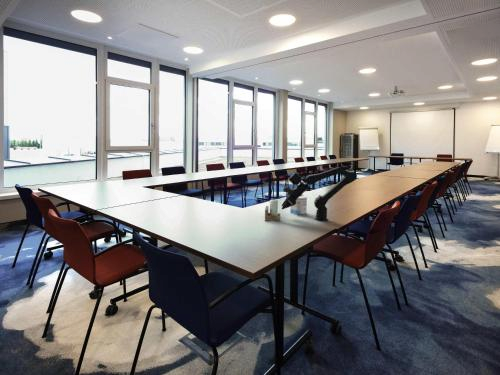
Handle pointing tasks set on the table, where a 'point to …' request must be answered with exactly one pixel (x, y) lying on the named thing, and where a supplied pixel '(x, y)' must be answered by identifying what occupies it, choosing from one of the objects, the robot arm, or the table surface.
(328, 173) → the robot arm
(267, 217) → the holder
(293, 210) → the ink box
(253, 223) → the table surface
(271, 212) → the pale green tapered cylinder
